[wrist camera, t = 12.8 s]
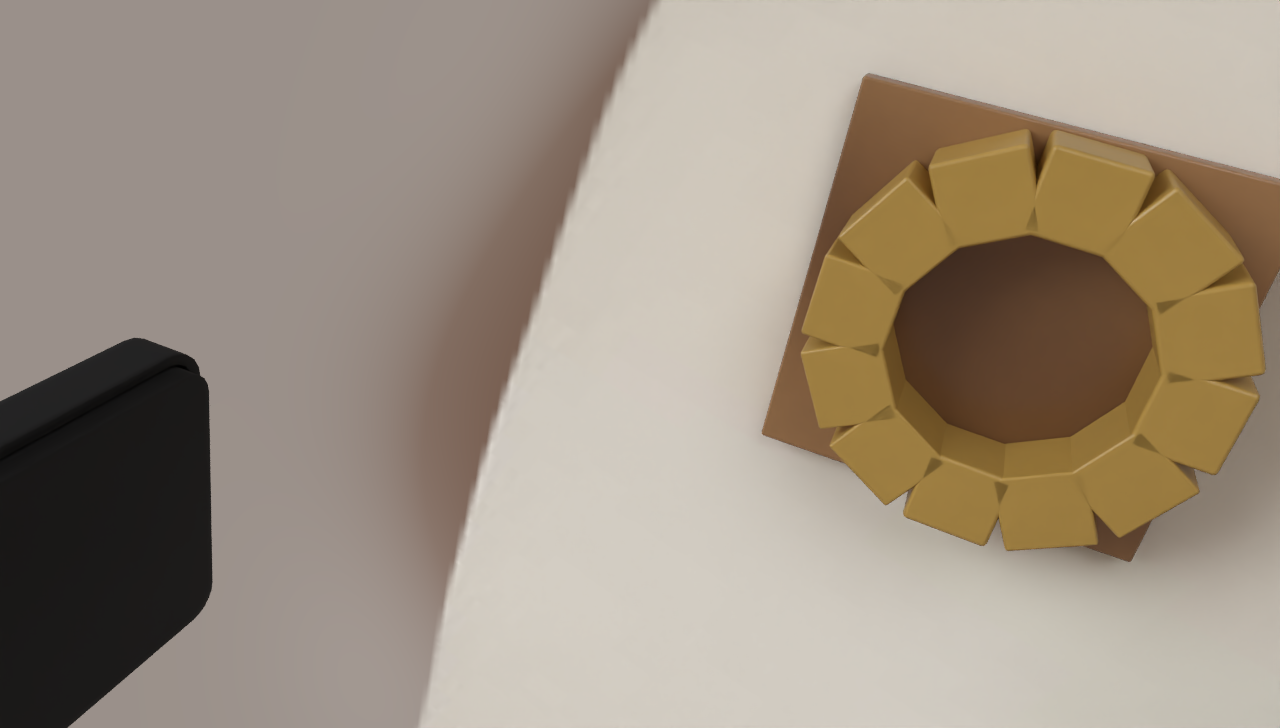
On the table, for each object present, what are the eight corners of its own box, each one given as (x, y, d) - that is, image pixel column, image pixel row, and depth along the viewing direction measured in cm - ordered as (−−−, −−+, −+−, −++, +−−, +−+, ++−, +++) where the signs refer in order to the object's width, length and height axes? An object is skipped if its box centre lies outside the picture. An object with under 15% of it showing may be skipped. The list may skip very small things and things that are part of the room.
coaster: (866, 71, 20) (863, 75, 19) (1312, 186, 18) (1319, 193, 18) (765, 425, 23) (760, 435, 23) (1129, 550, 22) (1130, 563, 21)
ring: (888, 80, 19) (876, 92, 18) (1332, 207, 18) (1357, 230, 16) (775, 430, 23) (758, 463, 21) (1136, 563, 21) (1142, 608, 20)
